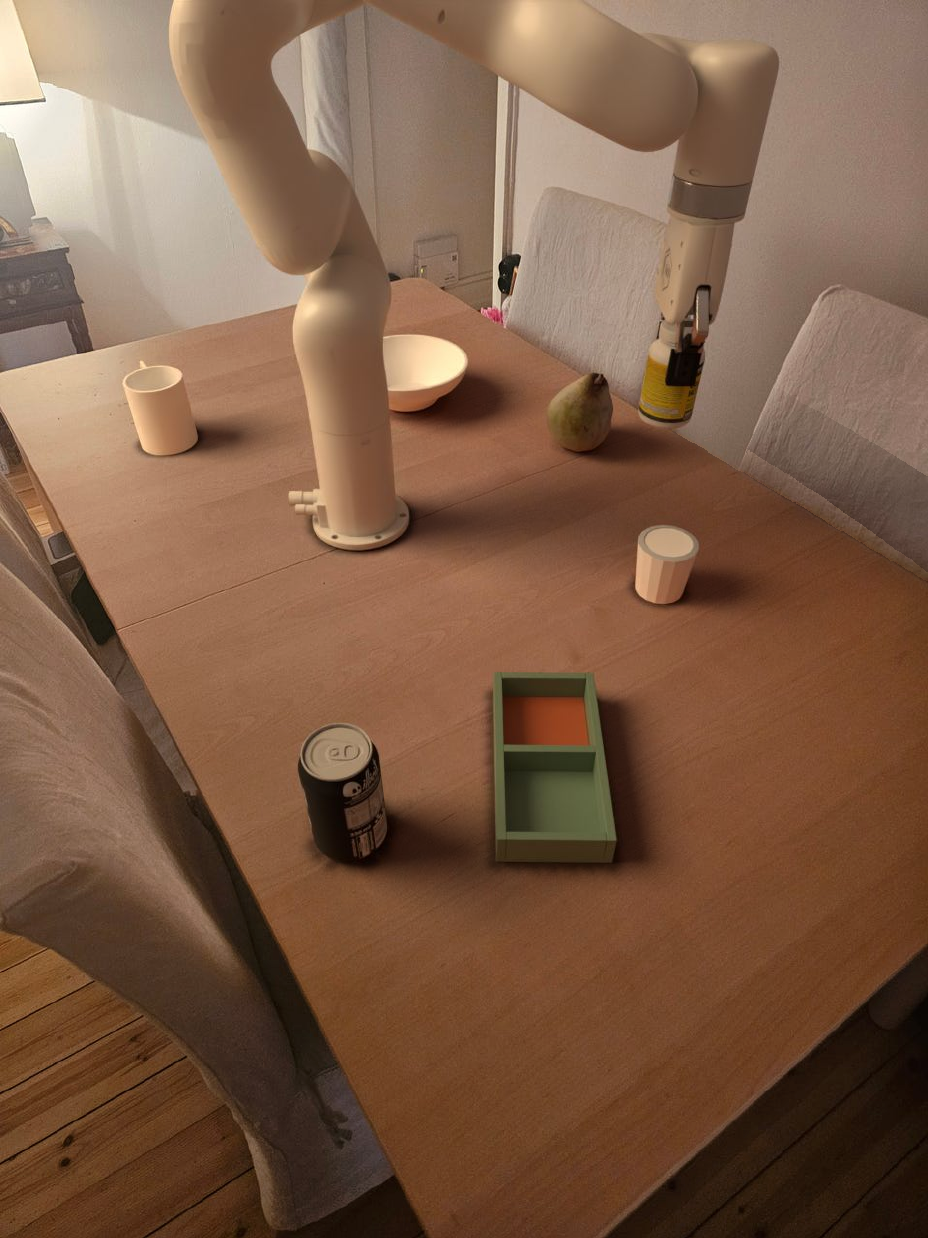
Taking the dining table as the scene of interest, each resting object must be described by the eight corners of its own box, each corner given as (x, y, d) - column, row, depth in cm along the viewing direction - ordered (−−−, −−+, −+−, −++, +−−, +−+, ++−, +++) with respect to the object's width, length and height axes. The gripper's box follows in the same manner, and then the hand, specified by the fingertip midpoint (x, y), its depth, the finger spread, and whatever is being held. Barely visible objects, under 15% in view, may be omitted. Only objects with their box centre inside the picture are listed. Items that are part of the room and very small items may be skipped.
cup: (182, 411, 130) (166, 351, 123) (204, 446, 122) (189, 383, 115) (129, 424, 127) (110, 363, 120) (149, 460, 119) (129, 397, 112)
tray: (495, 862, 71) (496, 839, 69) (493, 695, 86) (493, 671, 83) (611, 863, 71) (617, 840, 69) (589, 696, 86) (593, 672, 83)
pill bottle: (691, 433, 93) (712, 340, 86) (636, 427, 94) (653, 334, 86) (690, 407, 98) (711, 316, 90) (638, 401, 99) (654, 311, 91)
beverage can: (316, 805, 76) (297, 721, 68) (387, 800, 76) (377, 715, 68) (312, 869, 71) (292, 787, 63) (388, 863, 71) (378, 780, 63)
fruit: (600, 467, 118) (610, 389, 110) (536, 455, 120) (541, 379, 112) (614, 432, 125) (624, 357, 117) (553, 422, 127) (560, 348, 119)
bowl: (490, 391, 134) (491, 351, 130) (423, 444, 122) (421, 402, 118) (394, 363, 142) (391, 324, 137) (321, 410, 130) (316, 369, 125)
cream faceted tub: (691, 577, 100) (702, 530, 95) (683, 613, 95) (695, 566, 90) (635, 565, 101) (643, 519, 97) (624, 600, 97) (632, 553, 92)
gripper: (655, 170, 86) (628, 336, 98) (687, 225, 73) (652, 407, 86) (726, 172, 86) (691, 337, 98) (771, 226, 73) (724, 408, 86)
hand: (673, 368), depth 92 cm, fingers closed on pill bottle, 6 cm apart
